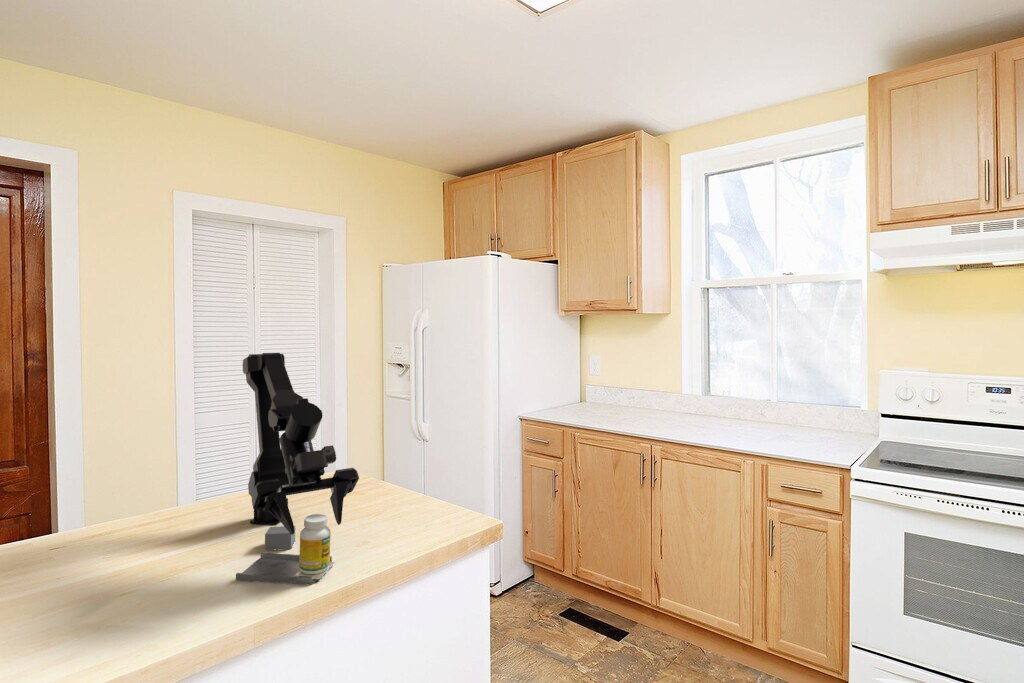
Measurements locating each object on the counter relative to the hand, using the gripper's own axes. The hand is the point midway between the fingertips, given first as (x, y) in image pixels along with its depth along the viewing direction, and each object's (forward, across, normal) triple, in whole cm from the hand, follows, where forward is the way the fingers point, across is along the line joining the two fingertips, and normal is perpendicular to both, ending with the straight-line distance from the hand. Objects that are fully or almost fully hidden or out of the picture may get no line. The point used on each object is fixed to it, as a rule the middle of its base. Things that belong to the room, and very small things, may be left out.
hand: (316, 528), depth 102 cm
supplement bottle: (+5, 0, +7) cm, 8 cm away
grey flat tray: (+3, -4, +10) cm, 11 cm away
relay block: (-6, -2, +19) cm, 20 cm away
